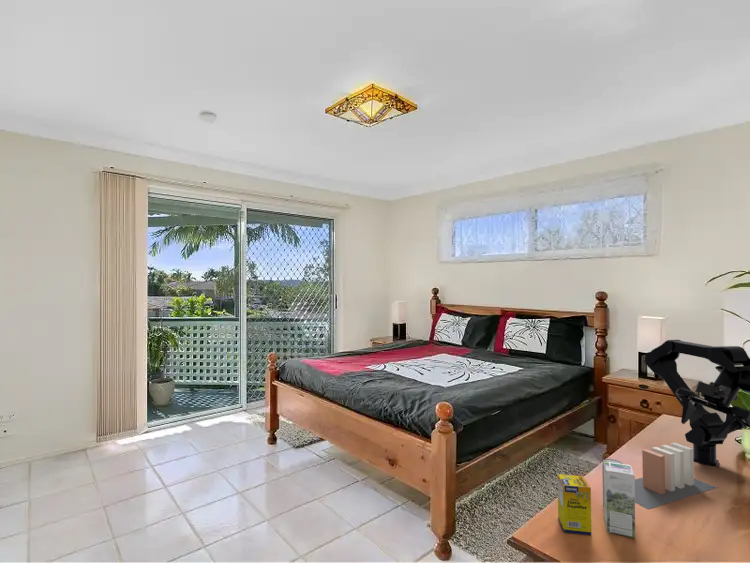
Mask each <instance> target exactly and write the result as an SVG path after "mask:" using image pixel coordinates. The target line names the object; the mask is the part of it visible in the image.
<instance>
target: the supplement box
mask: <svg viewBox="0 0 750 563" xmlns="http://www.w3.org/2000/svg"><path fill="white" fill-rule="evenodd" d="M557 515H558V516H557V519H558V522H559V524H560V526H561V529H562V531H563V533H565V534H574V535H586V536H592V488H591V486H590V485H589V483H588V481H587V479H586V478H585V477H584V476H583V475H572V474H564V473H562V474H561V473H560V474H559V473H558V474H557Z"/></svg>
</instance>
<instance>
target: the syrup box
mask: <svg viewBox="0 0 750 563" xmlns="http://www.w3.org/2000/svg"><path fill="white" fill-rule="evenodd" d="M635 479H636V476H635V473H634V470H633V468H632V465H630V464H624V463H623V464H620V463H613V462H606V461H604V507H603V509H604V513H603V514H604V518H603V519H604V523H605V530H606V533H610V534H614V535H619V536H624V537H627V538H632V539H633V538H634V539H635V538H636V503H635Z"/></svg>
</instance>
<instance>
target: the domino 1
mask: <svg viewBox="0 0 750 563" xmlns="http://www.w3.org/2000/svg"><path fill="white" fill-rule="evenodd" d="M651 451H653V452H656V453H658V454H661V455H664V456H665V489H667V490H669V491H675V458H674V453H672V452H669V451H666V450H663V449H662V447H661V448H660V447H658V446H654V447H652V448H651Z"/></svg>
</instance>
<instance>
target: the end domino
mask: <svg viewBox="0 0 750 563" xmlns="http://www.w3.org/2000/svg"><path fill="white" fill-rule="evenodd" d="M641 453H642V454H641V455H642V458H641V459H642V462H641V463H642V477H643V486H644V487H646V488H648V489H650V490H653V491H655V492H657V493H659V494H665V456H664V455H661V454H658V453H656V452H653V451H652V450H650V449H646V448H644V449H642V452H641Z"/></svg>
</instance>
